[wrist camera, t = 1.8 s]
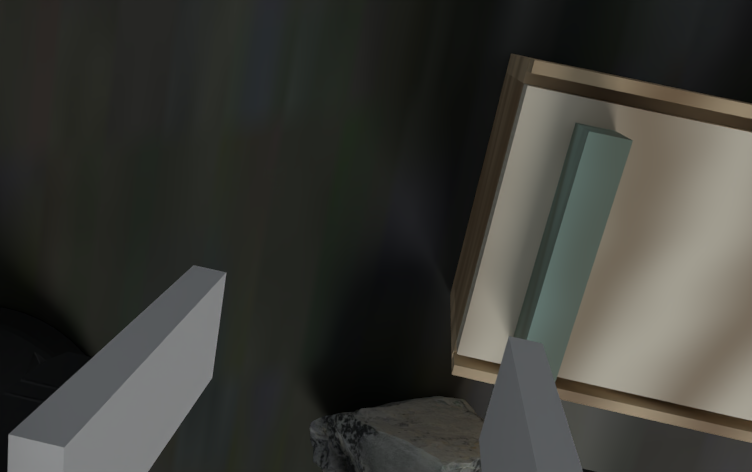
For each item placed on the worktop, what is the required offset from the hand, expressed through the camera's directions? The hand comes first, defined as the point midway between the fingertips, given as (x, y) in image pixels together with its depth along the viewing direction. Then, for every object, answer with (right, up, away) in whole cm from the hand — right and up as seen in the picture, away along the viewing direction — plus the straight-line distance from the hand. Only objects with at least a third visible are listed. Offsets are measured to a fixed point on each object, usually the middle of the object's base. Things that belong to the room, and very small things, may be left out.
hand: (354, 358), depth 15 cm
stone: (+3, -9, +27) cm, 29 cm away
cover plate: (+16, +1, +13) cm, 21 cm away
